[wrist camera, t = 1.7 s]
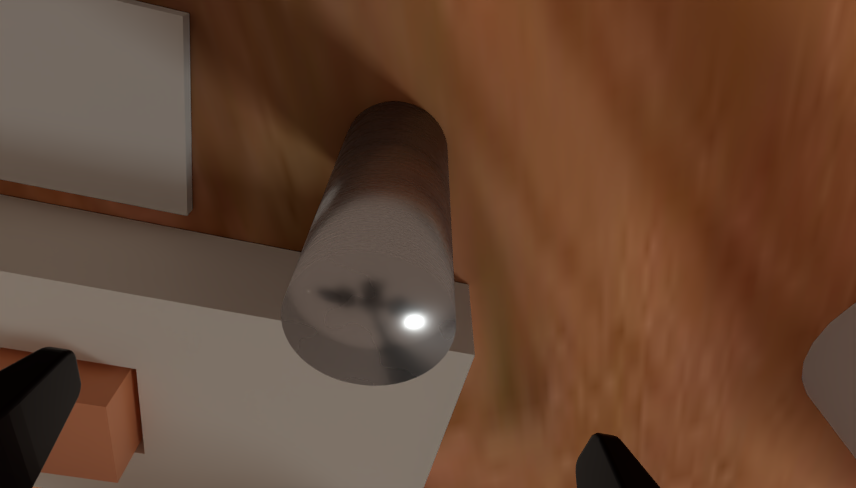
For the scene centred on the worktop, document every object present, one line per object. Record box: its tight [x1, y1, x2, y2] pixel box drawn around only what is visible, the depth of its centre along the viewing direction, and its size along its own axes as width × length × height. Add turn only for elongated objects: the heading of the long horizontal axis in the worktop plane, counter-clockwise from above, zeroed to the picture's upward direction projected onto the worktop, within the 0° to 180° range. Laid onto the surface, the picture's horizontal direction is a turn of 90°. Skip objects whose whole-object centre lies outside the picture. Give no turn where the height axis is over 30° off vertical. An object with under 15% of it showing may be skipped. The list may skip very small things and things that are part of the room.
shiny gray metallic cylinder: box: [281, 101, 456, 386], centre depth 15 cm, size 4×4×9 cm
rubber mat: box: [0, 0, 192, 216], centre depth 17 cm, size 8×7×1 cm
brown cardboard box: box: [0, 347, 143, 483], centre depth 20 cm, size 4×4×4 cm
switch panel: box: [0, 194, 475, 488], centre depth 22 cm, size 20×12×4 cm, turn 77°
